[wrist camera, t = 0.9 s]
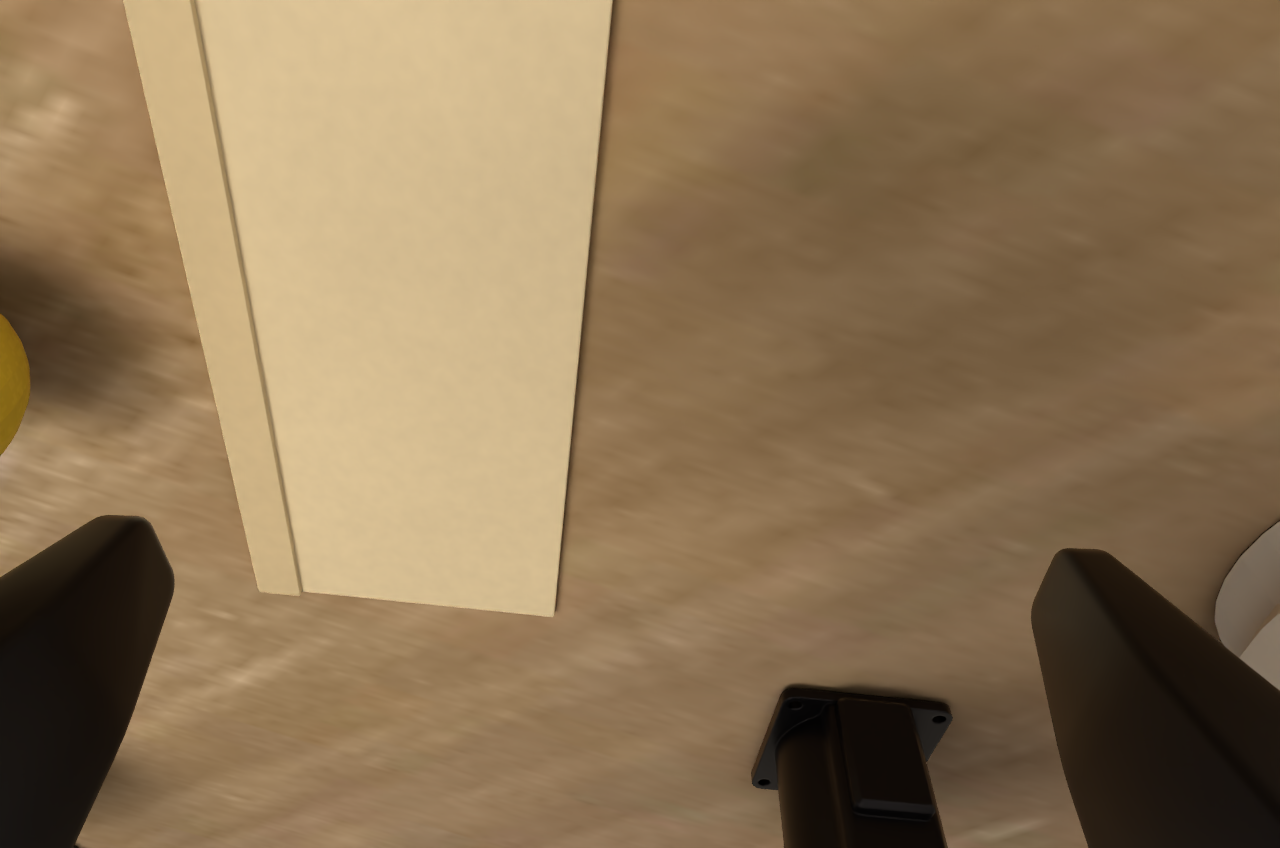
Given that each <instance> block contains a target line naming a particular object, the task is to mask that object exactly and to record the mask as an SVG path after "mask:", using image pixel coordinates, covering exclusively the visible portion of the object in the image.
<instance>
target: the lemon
mask: <svg viewBox="0 0 1280 848" xmlns="http://www.w3.org/2000/svg"><path fill="white" fill-rule="evenodd" d="M29 396H30V369H29V363H28V359H27V356H26V353H25V351H24V348H23V345H22V342H21V340H20V339H19V337H18V335H17V334H16V332H15V331H14V329H13V328H12V326H11V325H10V323H9V322H8V320H7V319H6V318H5V317H4V316H3V315H2V314H1V313H0V456H1V454H2V453H3V452H4V451H5V449H6V448H7V447H8V445H9V444H10V443H11V441H12V439H13V438H14V436H15V434H16V432H17V430H18V428H19V426H20V423H21V421H22V418H23V416H24V413H25V410H26V407H27V405H28V401H29Z"/></svg>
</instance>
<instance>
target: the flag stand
mask: <svg viewBox="0 0 1280 848" xmlns="http://www.w3.org/2000/svg"><path fill="white" fill-rule="evenodd" d="M1215 624H1216V627H1217V631H1218V634H1219V637H1220V639H1221V641H1222V643H1223V644H1224V646H1225V647H1226V648H1228V649H1229V650H1230V651H1231V652H1233V653H1234V654H1235V655H1236V656H1237V657H1239V658H1240V659H1241V660H1242V661H1244V662H1245V663H1246V664H1247V665H1249V666H1250V667H1251V668H1252V669H1254V670H1255V671H1256V672H1257V673H1259V674H1260V675H1261V676H1262V677H1264V678H1265V679H1266V680H1267V681H1269V682H1270V683H1271V684H1272V685H1273V686H1275V687H1276V688H1277V689H1278V690H1280V521H1279V522H1278V523H1277V524H1275V525H1274V526H1273V527H1271V528H1270V529H1269V530H1267V531H1266V532H1265V533H1263V534H1262V535H1261V536H1260V537H1259V538H1258V539H1257V540H1256V541H1255V542H1254V543H1253V544H1252V545H1251V546H1250V547H1249V548H1248V549H1247V550H1246V551H1245V552H1244V553H1243V554H1242V555H1241V556H1240V558H1239V559H1238V561H1237V562H1236V564H1235V565H1234V567H1233V568H1232V569H1231V571H1230V572H1229V574H1228V575H1227V577H1226V578H1225V580H1224V582H1223V585H1222V587H1221V590H1220V592H1219V595H1218V597H1217V600H1216V608H1215Z"/></svg>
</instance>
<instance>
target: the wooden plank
mask: <svg viewBox="0 0 1280 848" xmlns="http://www.w3.org/2000/svg"><path fill="white" fill-rule="evenodd" d="M123 2H124V7H125V11H126V15H127V20H128V24H129V29H130V33H131V37H132V42H133V46H134V50H135V55H136V59H137V63H138V68H139V72H140V76H141V81H142V85H143V90H144V94H145V98H146V103H147V107H148V111H149V116H150V120H151V124H152V129H153V133H154V137H155V142H156V146H157V151H158V155H159V159H160V164H161V168H162V172H163V177H164V181H165V185H166V190H167V194H168V198H169V203H170V207H171V212H172V216H173V220H174V225H175V229H176V233H177V238H178V242H179V246H180V251H181V255H182V259H183V264H184V268H185V273H186V277H187V281H188V286H189V290H190V294H191V299H192V303H193V307H194V312H195V316H196V320H197V325H198V329H199V334H200V338H201V342H202V347H203V351H204V355H205V360H206V364H207V368H208V373H209V377H210V381H211V386H212V390H213V395H214V399H215V403H216V408H217V412H218V416H219V421H220V425H221V429H222V434H223V438H224V443H225V447H226V451H227V456H228V460H229V464H230V469H231V473H232V477H233V482H234V486H235V490H236V495H237V499H238V504H239V508H240V512H241V517H242V521H243V525H244V530H245V534H246V538H247V543H248V547H249V551H250V556H251V560H252V565H253V569H254V573H255V578H256V582H257V586H258V591H259V592H265V593H274V594H284V595H294V596H301V593H302V591H303V592H313V593H322V594H332V595H342V596H352V597H361V598H371V599H381V600H390V601H400V602H410V603H420V604H429V605H439V606H449V607H459V608H468V609H478V610H488V611H498V612H507V613H517V614H527V615H537V616H546V617H554V613H555V603H556V593H557V582H558V572H559V561H560V551H561V540H562V530H563V519H564V509H565V498H566V488H567V477H568V467H569V456H570V445H571V435H572V424H573V414H574V403H575V393H576V382H577V372H578V361H579V351H580V340H581V330H582V319H583V309H584V298H585V288H586V277H587V267H588V256H589V246H590V235H591V225H592V214H593V204H594V193H595V183H596V172H597V162H598V151H599V141H600V130H601V120H602V109H603V98H604V88H605V77H606V67H607V56H608V46H609V35H610V25H611V14H612V4H613V0H123Z"/></svg>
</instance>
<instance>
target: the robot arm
mask: <svg viewBox="0 0 1280 848" xmlns="http://www.w3.org/2000/svg"><path fill="white" fill-rule="evenodd" d="M173 592H174V574H173V570H172V567H171V565H170V563H169V561H168V559H167V557H166V555H165V552H164V550H163V548H162V546H161V544H160V542H159V540H158V537H157V535H156V533H155V531H154V529H153V527H152V525H151V523H150V522H148V521H147V520H146V519H145V518H143V517H139V516H119V515H105V516H100V517H97V518H95V519H93V520H92V521H90V522H88V523H87V524H85V525H83V526H82V527H80V528H79V529H77V530H75V531H74V532H72V533H71V534H69V535H67V536H66V537H64V538H63V539H61V540H59V541H58V542H56V543H55V544H53V545H51V546H50V547H48V548H47V549H45V550H43V551H42V552H40V553H39V554H37V555H35V556H34V557H32V558H31V559H29V560H27V561H26V562H24V563H23V564H21V565H19V566H18V567H16V568H15V569H13V570H11V571H10V572H8V573H7V574H5V575H3V576H2V577H0V848H73V846H74V844H75V842H76V840H77V838H78V836H79V834H80V831H81V829H82V827H83V825H84V823H85V821H86V818H87V816H88V814H89V812H90V810H91V808H92V806H93V803H94V801H95V799H96V797H97V795H98V793H99V790H100V788H101V786H102V784H103V782H104V780H105V778H106V775H107V773H108V771H109V769H110V767H111V765H112V762H113V760H114V758H115V756H116V754H117V751H118V749H119V747H120V744H121V742H122V740H123V738H124V735H125V733H126V730H127V727H128V725H129V722H130V719H131V717H132V714H133V711H134V709H135V706H136V703H137V700H138V697H139V694H140V691H141V688H142V685H143V682H144V679H145V676H146V673H147V670H148V667H149V664H150V661H151V658H152V655H153V653H154V650H155V647H156V644H157V641H158V638H159V635H160V632H161V629H162V626H163V623H164V620H165V617H166V614H167V611H168V608H169V605H170V602H171V599H172V596H173ZM1031 622H1032V629H1033V633H1034V638H1035V643H1036V647H1037V652H1038V657H1039V661H1040V666H1041V671H1042V676H1043V680H1044V685H1045V690H1046V694H1047V699H1048V704H1049V708H1050V713H1051V718H1052V722H1053V727H1054V732H1055V736H1056V741H1057V746H1058V750H1059V754H1060V758H1061V762H1062V766H1063V770H1064V773H1065V777H1066V780H1067V783H1068V787H1069V790H1070V793H1071V796H1072V799H1073V802H1074V805H1075V808H1076V811H1077V814H1078V817H1079V820H1080V823H1081V826H1082V829H1083V832H1084V835H1085V838H1086V841H1087V844H1088V847H1089V848H1280V690H1278V689H1277V688H1276V687H1275V686H1273V685H1272V684H1271V683H1270V682H1269V681H1267V680H1266V679H1265V678H1264V677H1262V676H1261V675H1260V674H1259V673H1257V672H1256V671H1255V670H1254V669H1252V668H1251V667H1250V666H1249V665H1247V664H1246V663H1245V662H1244V661H1242V660H1241V659H1240V658H1239V657H1237V656H1236V655H1235V654H1234V653H1233V652H1231V651H1230V650H1229V649H1228V648H1226V647H1225V646H1224V645H1223V644H1221V643H1220V642H1219V641H1218V640H1216V639H1215V638H1214V637H1213V636H1211V635H1210V634H1209V633H1208V632H1206V631H1205V630H1204V629H1203V628H1201V627H1200V626H1199V625H1198V624H1196V623H1195V622H1194V621H1193V620H1192V619H1190V618H1189V617H1188V616H1187V615H1185V614H1184V613H1183V612H1182V611H1180V610H1179V609H1178V608H1177V607H1175V606H1174V605H1173V604H1172V603H1170V602H1169V601H1168V600H1167V599H1165V598H1164V597H1163V596H1162V595H1160V594H1159V593H1158V592H1157V591H1156V590H1154V589H1153V588H1152V587H1151V586H1149V585H1148V584H1147V583H1146V582H1144V581H1143V580H1142V579H1141V578H1139V577H1138V576H1137V575H1136V574H1134V573H1133V572H1132V571H1131V570H1129V569H1128V568H1127V567H1126V566H1124V565H1123V564H1122V563H1121V562H1119V561H1118V560H1117V559H1116V558H1115V557H1113V556H1112V555H1110V554H1109V553H1107V552H1105V551H1102V550H1098V549H1073V548H1066V549H1062V550H1060V551H1059V552H1058V553H1056V554H1055V556H1054V558H1053V559H1052V562H1051V564H1050V566H1049V568H1048V570H1047V573H1046V575H1045V577H1044V579H1043V581H1042V583H1041V586H1040V588H1039V590H1038V592H1037V594H1036V597H1035V599H1034V602H1033V605H1032V611H1031ZM952 719H953V717H952V714H951V710H950V707H949V706H948V705H947V704H945V703H940V702H930V701H920V700H910V699H900V698H890V697H880V696H870V695H860V694H850V693H840V692H830V691H820V690H810V689H800V688H791V689H787V690H785V691H784V692H783V693H782V694H781V696H780V699H779V701H778V704H777V707H776V709H775V712H774V714H773V717H772V720H771V722H770V725H769V727H768V730H767V733H766V735H765V738H764V741H763V743H762V746H761V748H760V751H759V754H758V756H757V759H756V761H755V764H754V767H753V769H752V772H751V776H752V784H753V786H755V787H757V788H761V789H771V790H778V791H779V801H780V810H781V820H782V830H783V840H784V848H948V847H947V843H946V839H945V835H944V831H943V827H942V823H941V819H940V815H939V811H938V807H937V803H936V799H935V795H934V791H933V787H932V783H931V779H930V775H929V771H928V767H927V763H926V762H927V761H928V759H929V757H930V756H931V754H932V753H933V751H934V749H935V748H936V746H937V744H938V743H939V741H940V739H941V738H942V736H943V735H944V733H945V731H946V730H947V728H948V726H949V725H950V723H951V721H952Z"/></svg>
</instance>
